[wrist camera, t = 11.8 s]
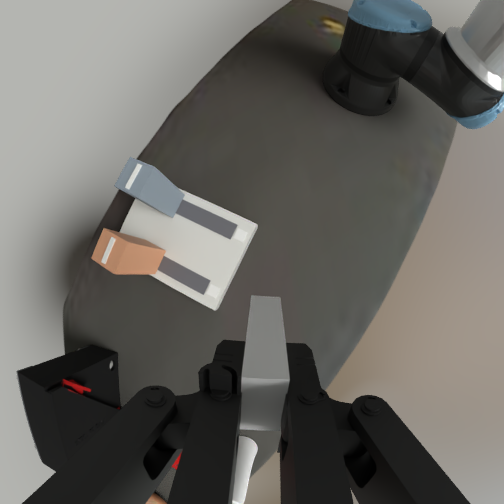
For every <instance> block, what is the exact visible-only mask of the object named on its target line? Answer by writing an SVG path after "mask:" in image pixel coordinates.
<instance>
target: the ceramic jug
mask: <svg viewBox="0 0 504 504" xmlns="http://www.w3.org/2000/svg"><path fill="white" fill-rule="evenodd" d="M146 504H167V503H166V502H165V501H164V500H163V499H162V498H161V497H160V496H158V495H157V494H155V493H153V494H152V495H151V497H150V498H149V500H148V501H147V502H146Z"/></svg>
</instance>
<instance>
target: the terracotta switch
mask: <svg viewBox="0 0 504 504" xmlns="http://www.w3.org/2000/svg"><path fill="white" fill-rule="evenodd" d="M165 252H166V250H164V249H162V248H160V247H158V246H156V245H155V244H153V243H151V242H149V241H147V240H145V239H141V238H138V237H134V236H131V235H127V234H124V233H120V232H116V231H113V230H109V229H106V228H104V229H103V231H102V233H101V236H100V238H99V240H98V243H97V245H96V248H95V250H94V253H93V255H92V258H91V259H93V260H94V261H96V262H97V263H99V264H100V265H101V266H103V267H104V268H106V269H107V270H109V271H110V272H112V273H113V274H156V272H157V270H158V267H159V265H160V263H161V261H162V259H163V256H164V254H165Z"/></svg>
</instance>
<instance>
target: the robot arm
mask: <svg viewBox="0 0 504 504" xmlns="http://www.w3.org/2000/svg"><path fill="white" fill-rule="evenodd" d="M399 77H402V78H403V79H405V80H406V81H408V82H409V83H410V84H412V85H413V86H414V87H416V88H417V89H418V90H420V91H421V92H422V93H424V94H425V95H426V96H427V97H429V98H430V99H431V100H432V101H434V102H435V103H436V104H437V105H438V106H440V107H441V108H442V109H443V110H444V111H445V112H446V113H447V114H448V115H449V116H450V117H452V118H454V119H455V120H457V121H458V122H459V123H460V124H461V125H463V126H464V127H466V128H469V129H478V128H481V127H484V126H486V125H487V124H489V123H491V122H492V121H493V120H494V119H496V118H497V114H498V113H501V112H502V110H503V109H504V0H480V2H479V3H478V5H477V6H476V8H475V9H474V11H473V12H472V14H471V15H470V17H469V18H468V20H467V21H466V23H465V24H464V25H463V27H462V28H458V27H450V28H448V29H447V30H446V32H445V33H444V34H443V33H441V32H440V31H438V30H437V29H436V28H434V27H433V26H432V19H431V16H430V15H429V14H428V12H427V11H426V10H423V9H422V7H421V6H420V5H418V4H416V3H415V2H413V1H411V0H354V1H353V4H352V6H351V8H350V10H349V12H348V20H347V23H346V27H345V31H344V35H343V39H342V43H341V46H340V49H339V50H338V51H337V53H336V54H335V55H334V56H333V57H332V58H331V59H330V60H329V61H328V63H327V64H326V66H325V69H324V74H323V83H324V86H325V88H326V90H327V92H328V93H329V95H330V96H331V97H332V98H333V99H334V100H335V101H336V102H337V103H339V104H340V105H341V106H343V107H345V108H346V109H348V110H350V111H353V112H355V113H358V114H362V115H368V116H377V115H381V114H384V113H386V112H387V111H389V110H390V109H391V107H392V106H393V104H394V103H395V101H396V99H397V94H398V85H399ZM313 358H314V357H313V353H312V350H311V349H310V348H309V347H308V346H307V345H306V344H303V343H286V341H285V332H284V324H283V316H282V307H281V299H280V297H268V296H252V295H251V303H250V312H249V320H248V328H247V336H246V342H245V341H232V340H223V341H222V342H221V343H220V344H219V345H217V348H216V351H215V355H214V358H213V362H212V363H210V364H207V365H205V366H204V367H202V368H201V369H200V371H199V372H198V373H199V387H200V391H198V392H196V393H194V394H189V395H180V396H175V395H174V393H173V392H172V391H171V390H169V389H168V388H166V387H162V386H149V387H145V388H143V389H142V390H140V391H139V392H138V393H137V394H136V395H135V396H134V397H133V398H132V399H131V400H130V401H129V402H128V403H127V404H126V405H125V406H124V407H123V408H122V409H121V410H120V411H119V412H118V413H117V414H116V415H114V416H113V417H112V418H111V419H110V420H109V421H108V422H107V423H106V424H105V425H104V426H103V427H102V428H101V429H100V430H99V431H98V432H97V433H96V434H95V435H94V436H93V437H92V438H91V439H90V440H89V441H88V442H87V443H86V444H85V445H84V446H83V447H82V448H81V449H80V450H79V451H78V452H77V453H76V454H74V455H73V456H72V457H71V458H70V459H69V460H68V461H67V462H66V463H65V464H64V465H63V466H62V467H61V468H60V469H59V470H58V471H57V472H56V473H54V475H52V476H51V478H49V479H48V480H47V481H46V482H45V483H44V484H43V485H42V486H41V487H39V488H38V489H37V491H35V492H34V493H33V494H32V495H31V496H30V497H29V498H28V499H26V500H25V501H24V502H23V503H22V504H146V502H147V501H148V500H149V498H150V497H151V495H152V494H153V493H154V491H155V490H156V488H157V487H158V486H159V484H160V483H161V481H162V480H163V478H164V477H165V476H166V474H167V473H168V471H169V470H170V468H171V467H172V465H173V464H174V462H175V461H176V459H177V458H178V456H179V455H180V453H181V452H182V453H181V456H180V460H179V463H178V467H177V470H176V474H175V477H174V481H173V484H172V488H171V491H170V495H169V498H168V502H167V504H232V500H233V491H234V482H235V472H236V463H237V454H238V445H239V431H240V429H247V430H266V431H280V428H281V438H280V442H279V447H278V451H277V452H278V453H280V477H281V478H280V480H281V504H353V499H352V494H351V490H352V492H353V493H354V495H355V497H356V499H357V501H358V503H359V504H470V503H469V501H468V500H467V499H466V498H465V497H464V495H463V494H462V493H461V492H460V490H459V489H458V488H457V487H456V486H455V484H454V483H453V482H452V481H451V479H450V478H449V477H448V476H447V475H446V474H445V472H444V471H443V470H442V469H441V467H440V466H439V465H438V464H437V462H436V461H435V460H434V459H433V458H432V456H431V455H430V454H429V453H428V452H427V450H426V449H425V448H424V447H423V446H422V445H421V443H420V442H419V441H418V440H417V438H416V437H415V436H414V435H413V433H412V432H411V431H410V430H409V429H408V427H407V426H406V425H405V424H404V423H403V421H402V420H401V419H400V418H399V417H398V415H396V413H395V412H394V411H393V410H392V408H391V407H390V406H389V405H388V404H387V402H385V401H384V400H383V399H382V398H379V397H377V396H372V395H365V396H360V397H358V398H356V399H355V401H354V402H353V403H352V404H351V403H344V402H339V401H336V400H333V399H331V398H329V396H328V394H327V392H326V391H324V390H323V389H322V388H321V386H320V382H319V378H318V374H317V369H316V365H315V361H314V359H313ZM350 488H351V489H350Z"/></svg>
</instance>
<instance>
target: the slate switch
mask: <svg viewBox="0 0 504 504" xmlns="http://www.w3.org/2000/svg"><path fill="white" fill-rule="evenodd" d="M115 187H116V188H118V189H120V190H122V191H123V192H125V193H127V194H129V195H130V196H132V197H134V198H136V199H138V200H139V201H141V202H143V203H145V204H146V205H148V206H150V207H152V208H154V209H156V210H158V211H160V212H162V213H164V214H166V215H168V216H170V217H172V218H173V217H174V215H175V213H176V211H177V209H178V207H179V205H180V203H181V201H182V200H183V198H184V196H185V194H183V193H182V192H181V191H180V190H179V189H178V188H177V187H176V186H175V185H174V184H173V183H172V182H171V181H169V180H168V179H167V178H166V177H165V176H164V175H163V174H162V173H161V172H160V171H159V170H158V169H156V168H155V167H154V166H151V165H149V164H146V163H144V162H141V161H139V160H136V159H134V158H131V157H130V158H129V160H128V162H127V164H126V165H125V167H124V169H123V171H122V173H121V174H120V176H119V178H118V180H117V182H116V184H115Z"/></svg>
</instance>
